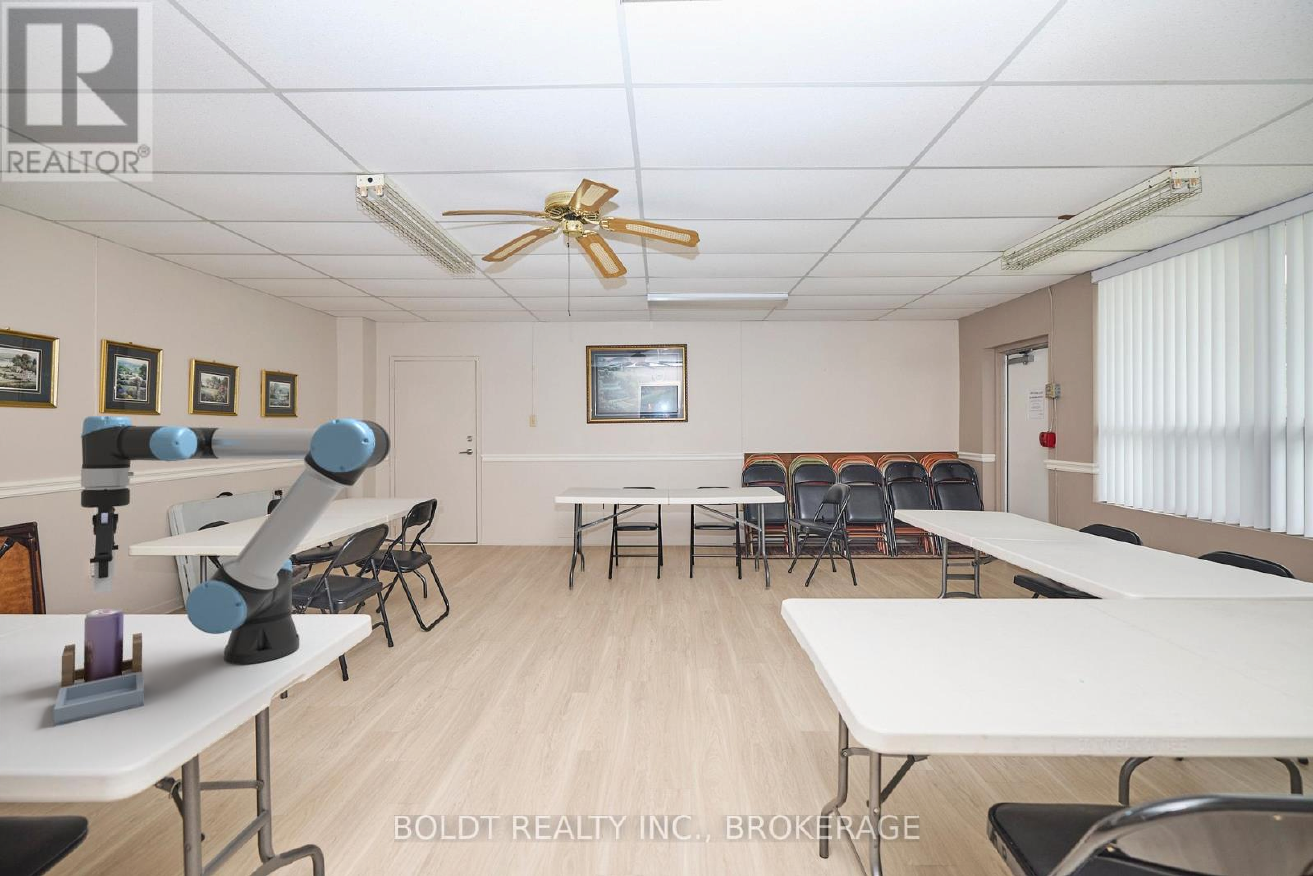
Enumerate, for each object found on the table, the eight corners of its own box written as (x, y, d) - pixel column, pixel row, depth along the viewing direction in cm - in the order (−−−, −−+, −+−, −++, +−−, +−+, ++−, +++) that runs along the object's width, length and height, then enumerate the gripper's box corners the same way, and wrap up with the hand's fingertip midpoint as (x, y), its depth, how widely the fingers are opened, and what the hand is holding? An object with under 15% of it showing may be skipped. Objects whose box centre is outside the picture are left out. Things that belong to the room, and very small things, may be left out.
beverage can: (129, 678, 122) (130, 609, 122) (94, 689, 117) (95, 617, 117) (112, 674, 124) (113, 606, 124) (77, 685, 119) (78, 613, 119)
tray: (143, 705, 110) (143, 690, 110) (53, 726, 102) (53, 709, 102) (142, 685, 119) (142, 671, 119) (59, 703, 110) (59, 688, 110)
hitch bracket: (141, 681, 120) (142, 644, 121) (60, 699, 112) (61, 658, 112) (141, 666, 129) (141, 631, 129) (65, 681, 121) (65, 643, 121)
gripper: (129, 491, 114) (127, 595, 114) (130, 483, 133) (128, 573, 132) (76, 493, 109) (74, 602, 109) (85, 485, 128) (83, 578, 127)
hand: (104, 586), depth 121 cm, fingers open, 13 cm apart
